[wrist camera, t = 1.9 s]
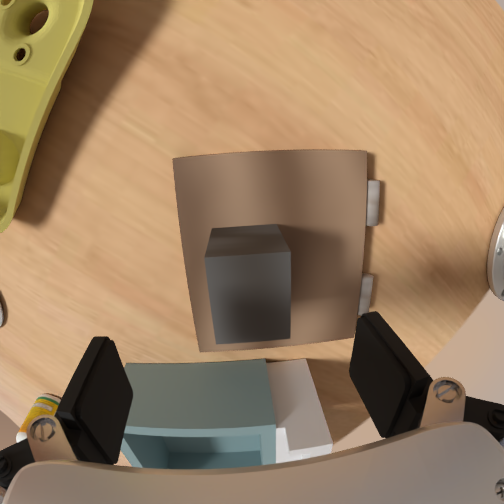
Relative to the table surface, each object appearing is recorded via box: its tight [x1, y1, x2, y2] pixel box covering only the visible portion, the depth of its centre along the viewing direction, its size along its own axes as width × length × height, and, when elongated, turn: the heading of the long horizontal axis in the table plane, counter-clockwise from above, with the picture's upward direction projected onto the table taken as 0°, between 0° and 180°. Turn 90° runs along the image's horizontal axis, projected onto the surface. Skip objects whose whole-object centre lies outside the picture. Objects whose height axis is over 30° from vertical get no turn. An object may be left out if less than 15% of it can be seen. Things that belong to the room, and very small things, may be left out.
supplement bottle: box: [16, 394, 61, 443], centre depth 21 cm, size 5×5×10 cm
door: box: [173, 150, 380, 352], centre depth 18 cm, size 13×14×6 cm
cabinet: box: [120, 359, 333, 469], centre depth 22 cm, size 15×14×9 cm
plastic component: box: [0, 0, 93, 233], centre depth 13 cm, size 20×7×10 cm
